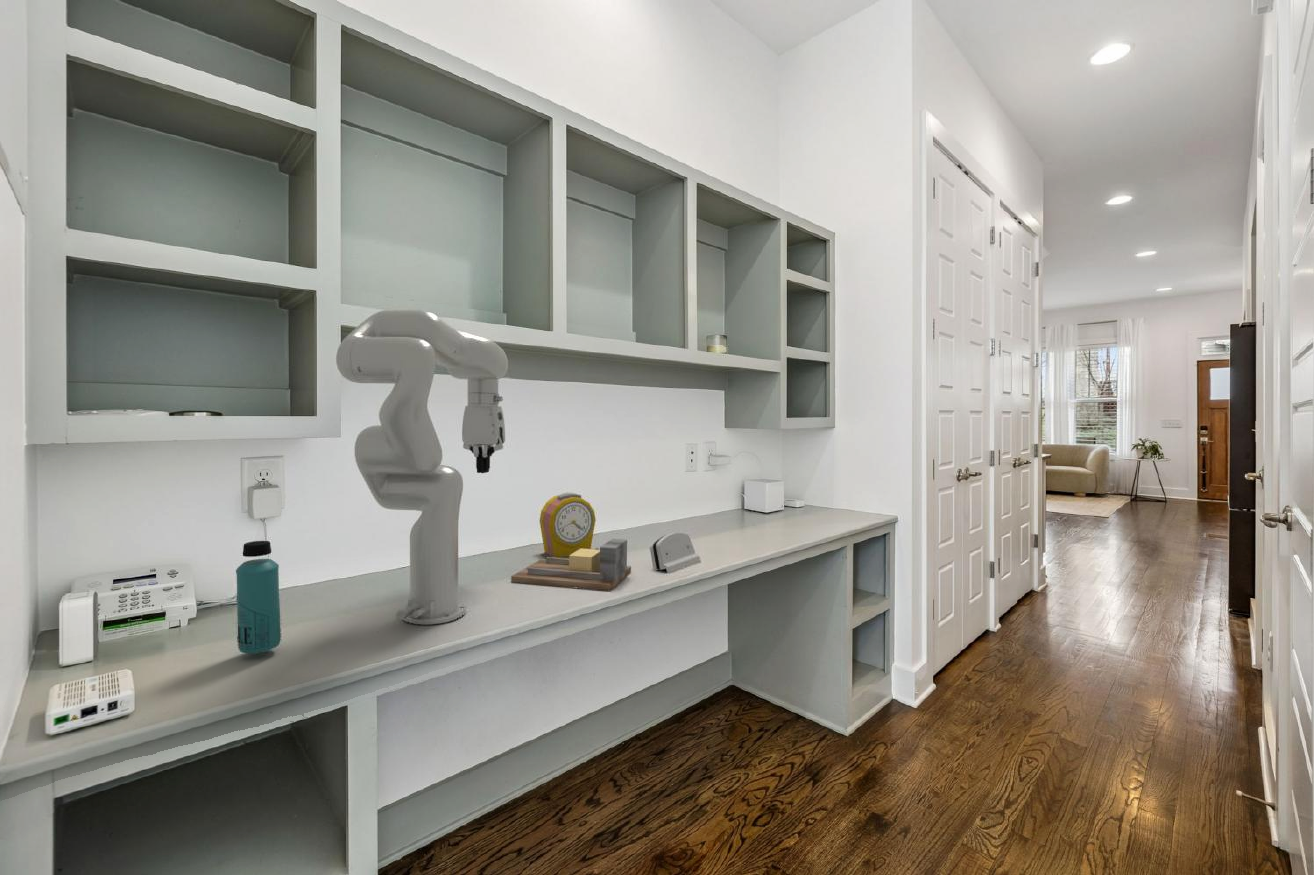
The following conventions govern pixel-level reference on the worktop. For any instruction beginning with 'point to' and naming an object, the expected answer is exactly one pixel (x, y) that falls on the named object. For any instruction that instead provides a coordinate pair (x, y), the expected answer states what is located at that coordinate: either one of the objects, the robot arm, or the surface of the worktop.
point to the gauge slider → (585, 560)
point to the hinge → (673, 552)
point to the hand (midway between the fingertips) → (483, 472)
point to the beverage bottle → (258, 600)
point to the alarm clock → (566, 525)
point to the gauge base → (559, 574)
